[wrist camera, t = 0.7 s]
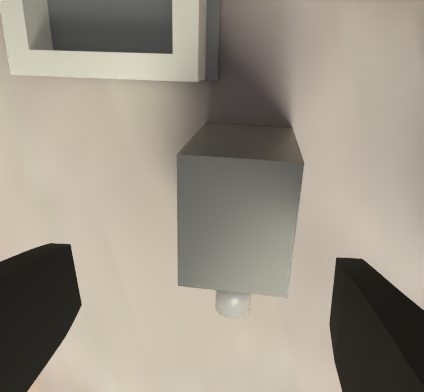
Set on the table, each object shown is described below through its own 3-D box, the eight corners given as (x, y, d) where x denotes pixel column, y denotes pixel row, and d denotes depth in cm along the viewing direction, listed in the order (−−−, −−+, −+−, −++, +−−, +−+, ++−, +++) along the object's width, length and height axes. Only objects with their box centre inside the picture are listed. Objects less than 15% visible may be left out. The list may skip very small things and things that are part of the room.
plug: (292, 127, 17) (304, 162, 11) (278, 253, 19) (283, 333, 14) (206, 123, 17) (177, 154, 12) (203, 246, 20) (178, 320, 14)
